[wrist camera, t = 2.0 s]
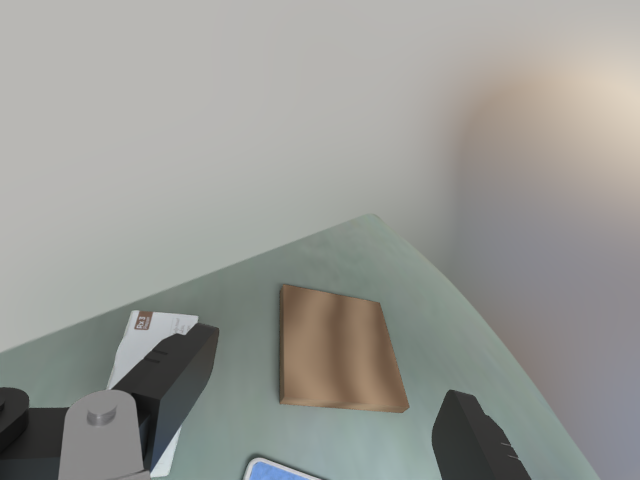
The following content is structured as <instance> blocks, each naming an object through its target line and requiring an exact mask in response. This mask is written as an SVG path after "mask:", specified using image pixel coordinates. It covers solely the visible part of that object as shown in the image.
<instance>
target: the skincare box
mask: <svg viewBox="0 0 640 480" xmlns="http://www.w3.org/2000/svg"><path fill="white" fill-rule="evenodd" d="M198 318H199V317H198V316H195V315H185V314H174V313H161V312H148V311H138V310H133V311H132V312H131V315H130V318H129V321H128V324H127V327H126V330H125V333H124V336H123V339H122V341H121V343H120V345H119V347H118V350H117V353H116V356H115V362H114V366H113V369H112V372H111V375H110V378H109V381H108V384H107V388H106V390H110V389H111V388H112V387H114V386H115V385H116V384H117V383H118V382H119V381H120V380H121V379H122V378H123V377H124V376H125V375H126V374H127V373H128V372H129V371H130V370H131V369H132V368H133V367H134V366H135V365H136V364H137V363H138V362H140V361H141V360H142V359H144V357H145V356H146V355H147V354H148V353H149V352H150V351H152V349H153V348H154V347H155V346H156V345H157V344H158V343H159V342H160V341H161V340H162V339H165V338H167V337H169V336H171V335H173V334H176V333H179V334H182V335H186V334H187V332H188V331H189V330H190V329H191V328H192V327H193V326H194V325H195V324H196V323H198ZM181 427H182V424H181V426H180V428H179V429H178V431H177V432H176V434H175V436H174V437H173V439H172V440H171V442H170V444H169V445H168V447H167V448H166V450H165V452H164V453H163V455H162V456H161V458H160V459H159V461H158V463H157V464H156V466H155V467H154V469H153V471H152V472H151V474H150V476H151V477H162V476H167V475H168V474H169V472H170V469H171V465H172V461H173V457H174V453H175V449H176V446H177V442H178V438H179V434H180V430H181Z"/></svg>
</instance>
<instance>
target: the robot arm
mask: <svg viewBox="0 0 640 480" xmlns="http://www.w3.org/2000/svg"><path fill="white" fill-rule="evenodd" d="M218 337H219V328H217V327H213V326H209V325H205V324H201V323H196V324H195V325H194V326H193V327H192V328H191V329H190V330H189V331H188V332H187V334H186V335H182V334H179V333H176V334H173V335H171V336H169V337H167V338H165V339H162V340H161V341H160V342H159V343H158V344H157V345H156V346H155V347H154V348H153V349H152V351H150V352H149V353H148V354H147V355H146V356H145V357H144V359H142V360H141V361H140V362H138V363H137V364H136V365H135V366H134V367H133V368H132V369H131V370H130V371H129V372H128V373H127V374H126V375H125V376H124V377H123V378H122V379H121V380H120V381H119V382H118V383H117V384H116V385H115V386H114V387H112V388H111V389H110V390H102V391H97V392H94V393H91V394H88V395H86V396H84V397H82V398H80V399H79V400H78V401H76V402H75V403H74V404H73V405H72V406H71V407H68V408H29V397H28V395H27V394H26V393H25V392H24V391H22V390H20V389H16V388H6V387H3V388H0V480H151V476H150V474H151V472H152V471H153V469H154V467H155V466H156V464H157V463H158V461H159V459H160V458H161V456H162V455H163V453H164V452H165V450H166V448H167V447H168V445H169V444H170V442H171V440H172V439H173V437H174V436H175V434H176V432H177V431H178V429H179V428H180V426H181V424H182V423H183V421H184V420H185V418H186V417H187V415H188V413H189V412H190V410H191V409H192V407H193V405H194V404H195V402H196V401H197V399H198V397H199V396H200V394H201V393H202V391H203V390H204V388H205V386H206V384H207V382H208V380H209V378H210V375H211V372H212V369H213V364H214V358H215V353H216V348H217V342H218ZM432 446H433V450H434V453H435V457H436V460H437V463H438V467H439V470H440V473H441V476H442V480H531V478H530V476H529V475H528V473H527V471H526V469H525V468H524V466H523V464H522V463H521V461H520V460H518V456H517V454H516V452H515V451H514V449H513V448H512V447H511V444H510V442H509V440H508V439H507V437H506V435H505V434H504V432H503V430H502V429H501V428H500V427H499V426H498V425H497V424H496V423H495V422H494V421H493V420H492V419H491V418H490V417H489V416H488V415H485V413H484V412H483V410H482V408H481V406H480V404H479V403H478V401H477V399H476V397H475V396H473V395H470V394H466V393H462V392H458V391H455V390H449V391H448V392H447V393H446V396H445V398H444V401H443V403H442V406H441V408H440V411H439V413H438V416H437V418H436V421H435V423H434V426H433V430H432Z"/></svg>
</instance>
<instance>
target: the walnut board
mask: <svg viewBox="0 0 640 480" xmlns="http://www.w3.org/2000/svg"><path fill="white" fill-rule="evenodd" d="M280 404H289V405H302V406H315V407H329V408H342V409H356V410H369V411H382V412H396V413H403V412H404V411H405V410H407V409H408V408H409V403H408V400H407V396H406V393H405V389H404V386H403V382H402V379H401V375H400V372H399V368H398V365H397V361H396V358H395V354H394V351H393V347H392V344H391V340H390V337H389V333H388V330H387V326H386V323H385V319H384V316H383V312H382V309H381V305H380V303H378V302H373V301H368V300H363V299H358V298H352V297H347V296H342V295H337V294H332V293H327V292H321V291H316V290H311V289H306V288H301V287H296V286H290V285H285V284H283V286H282V288H281V290H280Z"/></svg>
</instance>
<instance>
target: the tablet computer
mask: <svg viewBox="0 0 640 480" xmlns="http://www.w3.org/2000/svg"><path fill="white" fill-rule="evenodd" d="M243 480H321V479H318V478H316V477H313V476H310V475H307V474H305V473H302V472H299V471H296V470H293V469H291V468H288V467H285V466H283V465H280V464H277V463H274V462H272V461H269V460H266V459H264V458H255V459H253V460H252V461H250V463H249V464H248V466H247V468H246V471H245V474H244V477H243Z"/></svg>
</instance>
